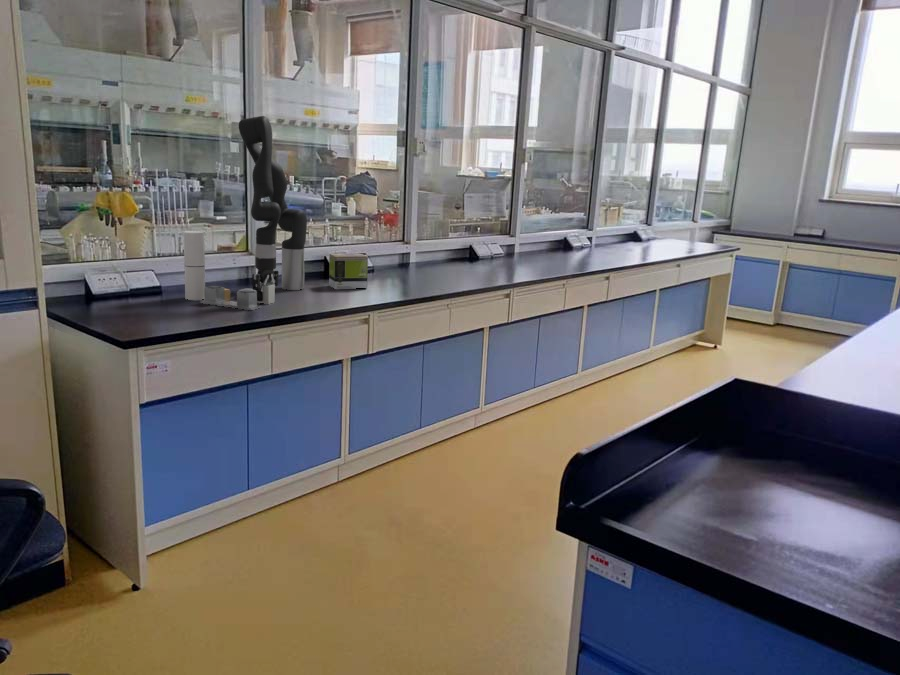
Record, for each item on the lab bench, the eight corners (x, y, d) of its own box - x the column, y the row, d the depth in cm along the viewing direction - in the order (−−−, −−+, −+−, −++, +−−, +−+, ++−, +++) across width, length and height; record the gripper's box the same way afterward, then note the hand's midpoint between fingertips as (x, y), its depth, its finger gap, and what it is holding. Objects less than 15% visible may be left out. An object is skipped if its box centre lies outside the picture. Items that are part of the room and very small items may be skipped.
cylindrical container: (186, 300, 256) (184, 233, 250) (184, 296, 262) (182, 230, 256) (206, 300, 259) (205, 233, 253) (203, 296, 265) (202, 231, 259)
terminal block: (223, 298, 265) (223, 288, 264) (230, 300, 263) (230, 289, 262) (217, 299, 262) (216, 288, 261) (223, 300, 260) (223, 290, 259)
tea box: (361, 285, 312) (362, 253, 309) (367, 289, 303) (368, 256, 300) (328, 285, 306) (329, 252, 303) (333, 289, 297) (334, 255, 294)
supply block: (246, 296, 272) (246, 287, 271) (260, 298, 270) (260, 289, 270) (238, 299, 266) (238, 290, 265) (252, 300, 265) (252, 291, 264)
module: (263, 301, 264) (263, 282, 262) (274, 303, 262) (274, 284, 261) (257, 303, 260) (257, 284, 259) (268, 304, 259) (268, 285, 257)
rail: (210, 300, 258) (210, 284, 257) (261, 308, 252) (261, 291, 250) (200, 303, 253) (200, 286, 251) (251, 310, 246) (251, 293, 245)
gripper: (268, 253, 265) (267, 295, 269) (245, 256, 252) (245, 301, 255) (285, 255, 263) (284, 297, 266) (263, 258, 249) (263, 303, 253)
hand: (265, 299), depth 261 cm, fingers open, 7 cm apart
